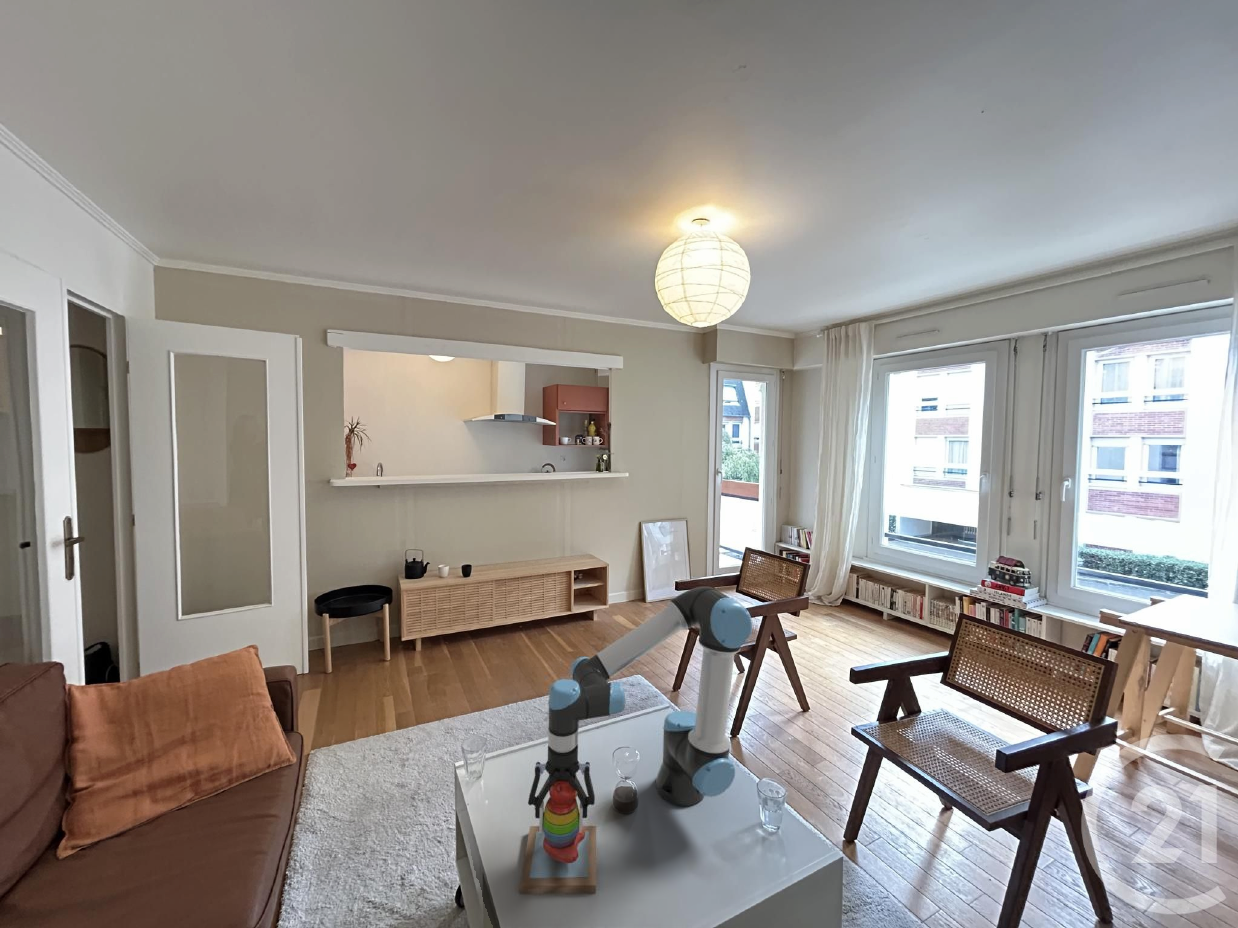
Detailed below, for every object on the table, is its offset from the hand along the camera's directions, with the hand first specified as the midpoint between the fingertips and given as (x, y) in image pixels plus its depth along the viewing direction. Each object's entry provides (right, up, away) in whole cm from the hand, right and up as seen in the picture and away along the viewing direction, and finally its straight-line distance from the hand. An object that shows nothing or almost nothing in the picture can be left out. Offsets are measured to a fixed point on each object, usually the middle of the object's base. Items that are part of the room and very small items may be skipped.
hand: (561, 828), depth 129 cm
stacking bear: (0, -4, 0) cm, 4 cm away
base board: (0, -9, +1) cm, 9 cm away
